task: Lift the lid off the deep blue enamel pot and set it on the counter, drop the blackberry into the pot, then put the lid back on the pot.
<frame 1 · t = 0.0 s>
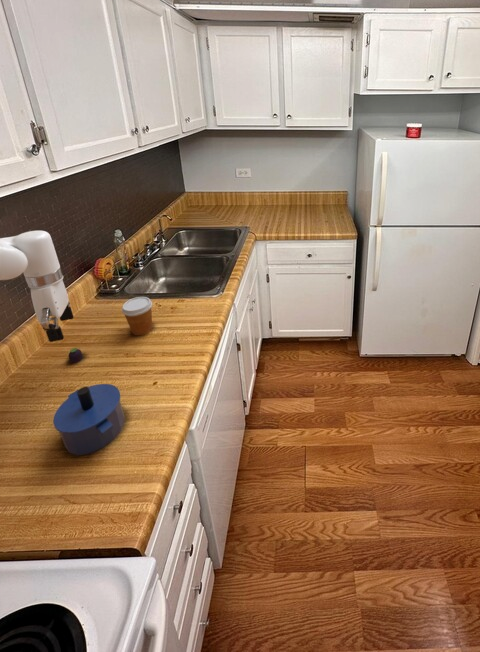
hand: (62, 329, 94), 17 cm above the counter, tool pointing down, fingers open, 9 cm apart
blackberry: (77, 361, 106), on the counter
disposable coffee cup: (143, 332, 120), on the counter
pot: (96, 432, 84), on the counter
lid: (88, 407, 80), point 8 cm above the counter, touching pot
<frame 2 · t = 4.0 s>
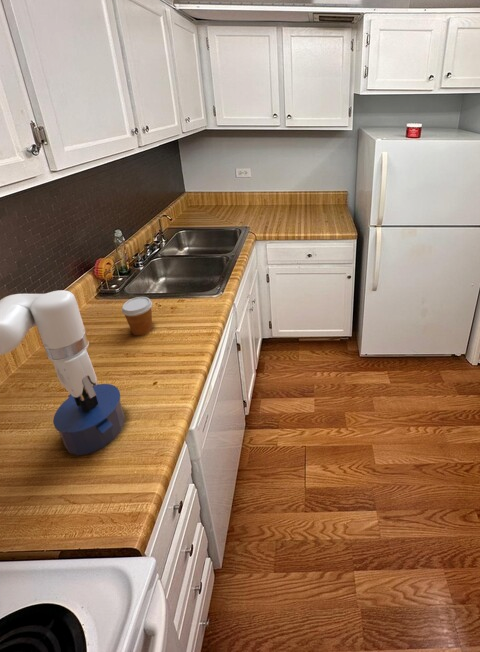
hand: (87, 404, 80), 9 cm above the counter, tool pointing down, fingers closed on lid, 2 cm apart
lid: (88, 407, 80), point 9 cm above the counter, touching gripper, pot
everything else where it was.
when the fingers open (2 cm above the counter, at t = 10.6 s): lid stays where it is, point 1 cm above the counter.
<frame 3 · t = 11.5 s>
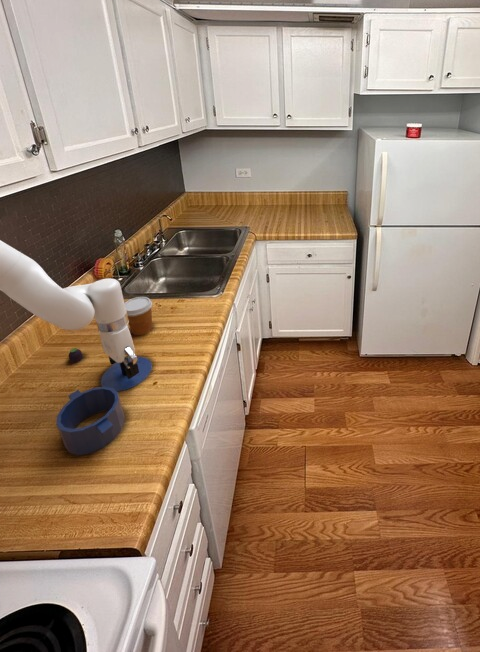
hand: (124, 368, 99), 3 cm above the counter, tool pointing down, fingers open, 9 cm apart
lid: (127, 374, 100), point 1 cm above the counter
everything else where it was.
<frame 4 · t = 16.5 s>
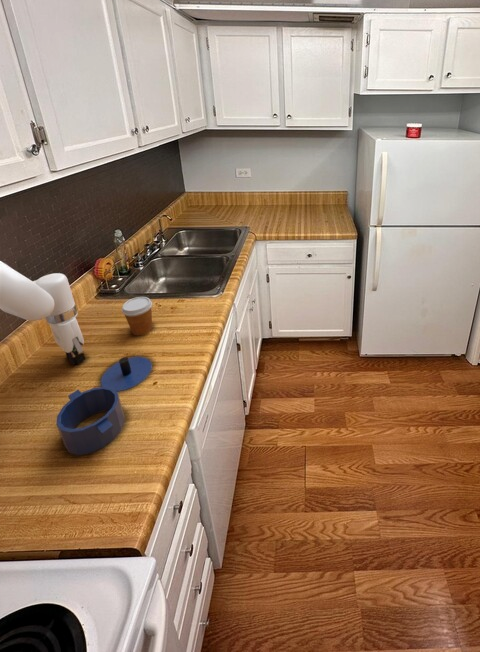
hand: (77, 360, 106), 0 cm above the counter, tool pointing down, fingers closed on blackberry, 3 cm apart
blackberry: (77, 361, 106), on the counter, touching gripper
everything else where it was.
when the fingers open (8 cm above the counter, at t = 22.3 s): blackberry drops 7 cm, resting on pot.
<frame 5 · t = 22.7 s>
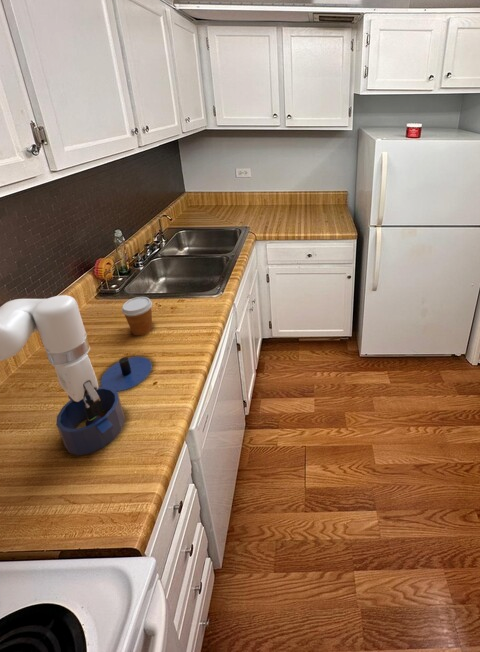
hand: (87, 406, 80), 9 cm above the counter, tool pointing down, fingers open, 7 cm apart
blackberry: (96, 430, 83), resting on pot
everything else where it was.
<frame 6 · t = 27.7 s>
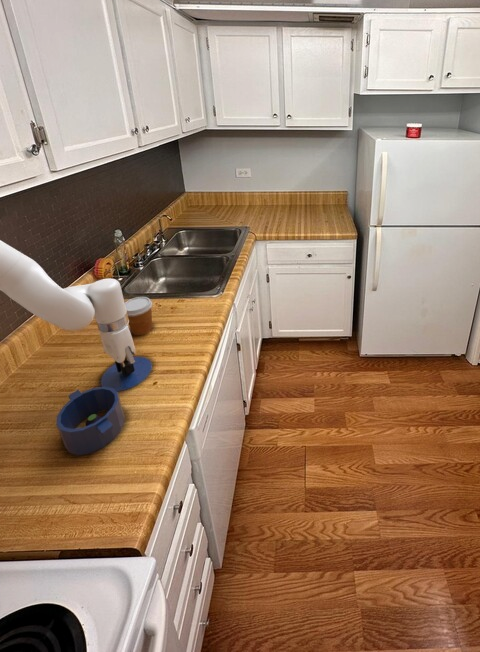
hand: (126, 371, 100), 2 cm above the counter, tool pointing down, fingers closed on lid, 2 cm apart
lid: (127, 374, 100), point 1 cm above the counter, touching gripper
everything else where it was.
when the fingers open (10 cm above the counter, at t = 34.1 s): lid moves 1 cm, resting on pot.
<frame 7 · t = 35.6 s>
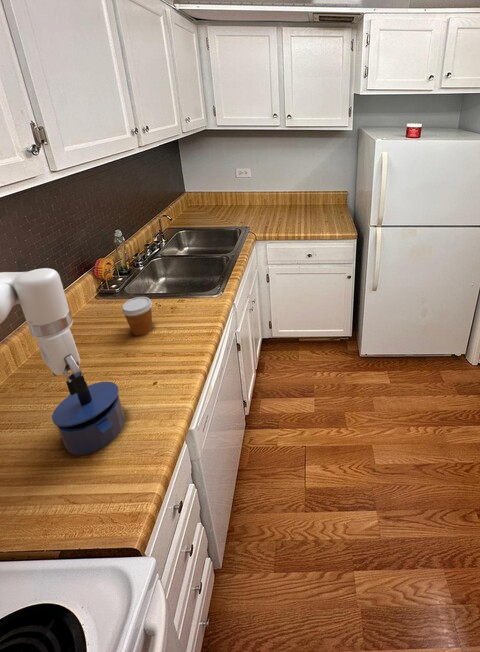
hand: (69, 381, 80), 15 cm above the counter, tool pointing down, fingers open, 9 cm apart
lid: (87, 403, 81), point 9 cm above the counter, tilted 8°, touching gripper, pot
everything else where it was.
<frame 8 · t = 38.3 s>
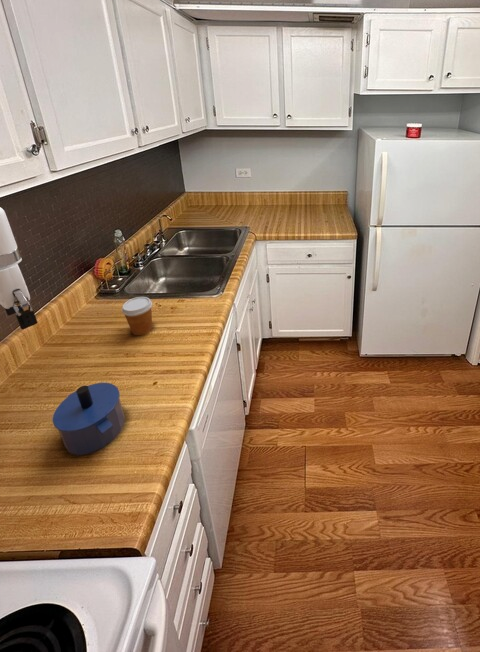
hand: (22, 319, 84), 26 cm above the counter, tool pointing down, fingers open, 9 cm apart
lid: (87, 406, 81), point 8 cm above the counter, touching pot
everything else where it was.
at the end: blackberry inside the target area in the pot (0.0 cm from its centre), point 0.5 cm above the pot's base; lid 0.5 cm off-centre on the pot, point 8.5 cm above the pot's base; lid tilted 0° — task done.
